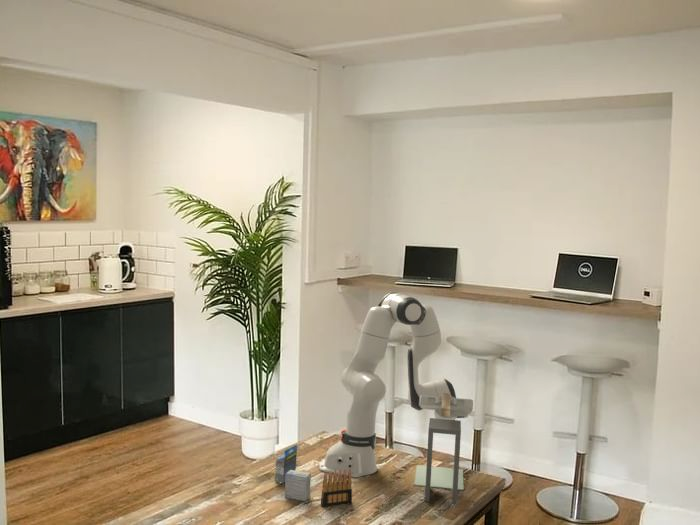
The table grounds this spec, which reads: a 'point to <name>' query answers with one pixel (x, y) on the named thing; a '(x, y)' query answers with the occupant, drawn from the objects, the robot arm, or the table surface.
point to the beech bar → (445, 405)
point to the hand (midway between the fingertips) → (446, 398)
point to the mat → (438, 477)
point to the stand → (454, 429)
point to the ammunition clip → (337, 489)
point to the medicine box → (297, 485)
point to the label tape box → (285, 464)
